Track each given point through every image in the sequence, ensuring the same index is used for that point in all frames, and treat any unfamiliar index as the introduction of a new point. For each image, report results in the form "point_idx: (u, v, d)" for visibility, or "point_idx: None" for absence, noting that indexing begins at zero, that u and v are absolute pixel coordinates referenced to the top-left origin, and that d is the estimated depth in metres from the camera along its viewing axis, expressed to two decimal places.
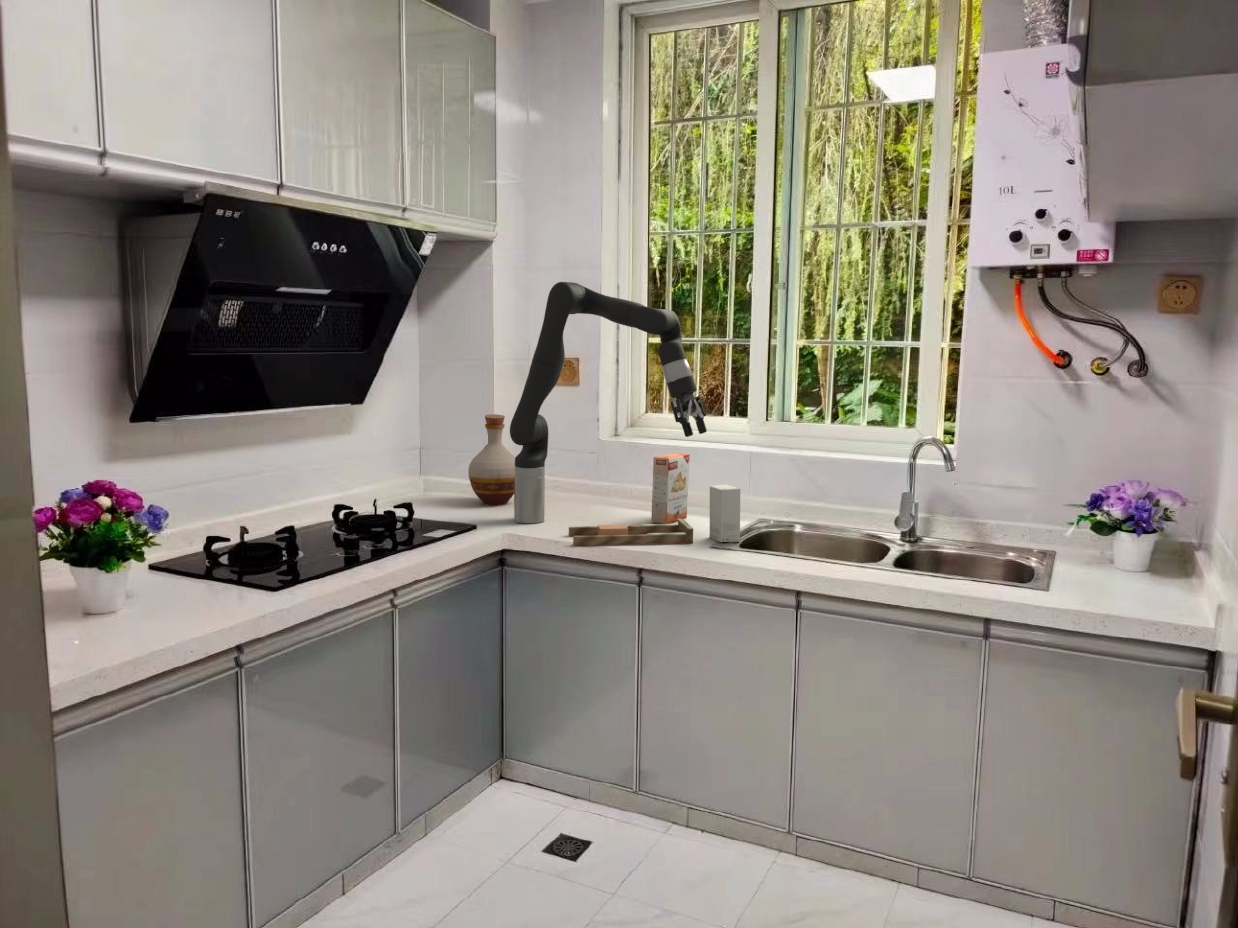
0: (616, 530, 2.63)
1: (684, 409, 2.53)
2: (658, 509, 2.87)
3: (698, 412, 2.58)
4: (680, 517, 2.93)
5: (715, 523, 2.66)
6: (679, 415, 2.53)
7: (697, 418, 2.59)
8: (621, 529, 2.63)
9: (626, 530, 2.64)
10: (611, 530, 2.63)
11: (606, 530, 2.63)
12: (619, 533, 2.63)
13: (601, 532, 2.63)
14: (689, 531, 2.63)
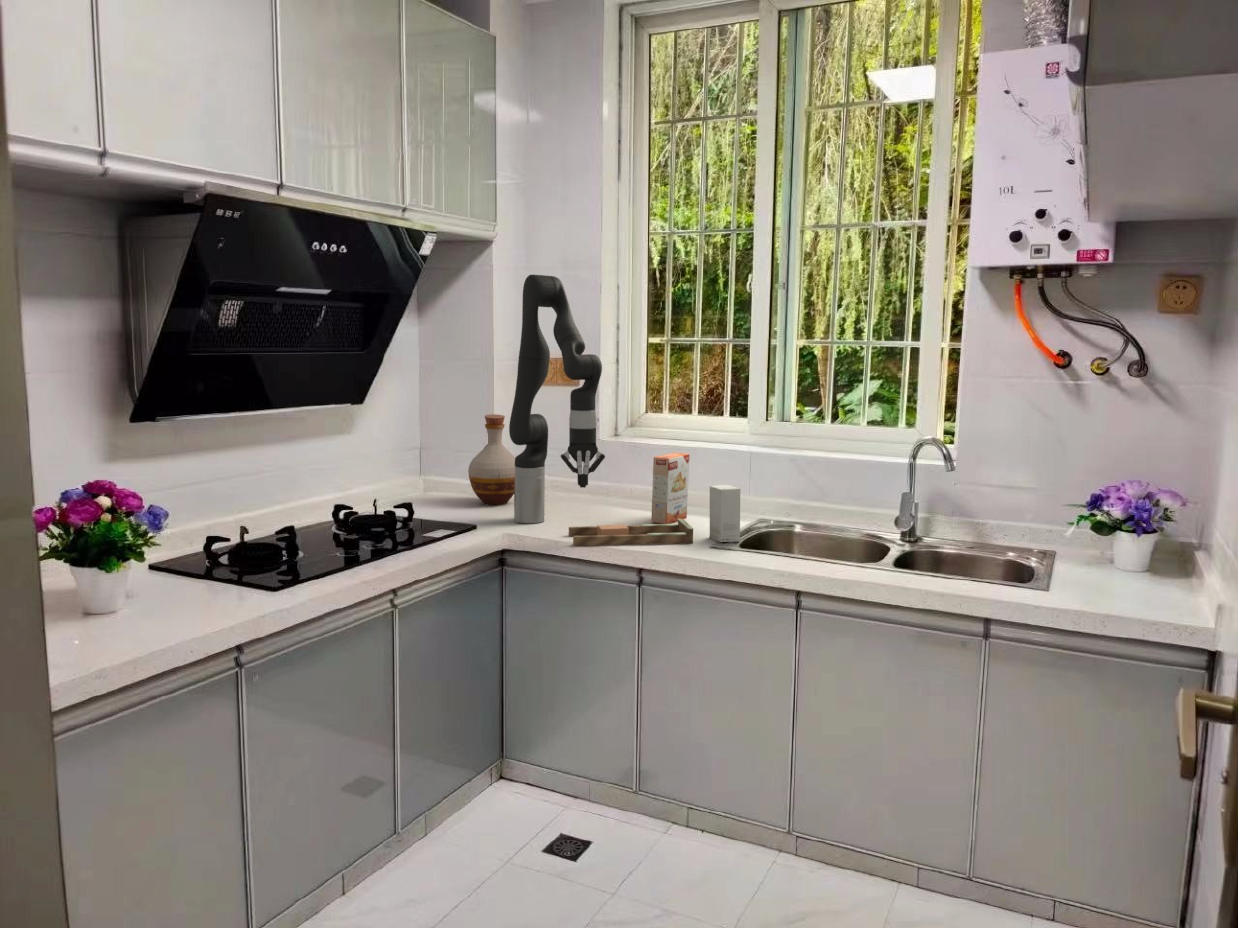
0: (616, 530, 2.63)
1: None
2: (658, 509, 2.87)
3: (584, 464, 2.60)
4: (680, 517, 2.93)
5: (715, 523, 2.66)
6: None
7: (583, 470, 2.62)
8: (622, 529, 2.64)
9: (626, 529, 2.64)
10: (612, 530, 2.63)
11: (607, 530, 2.63)
12: (620, 533, 2.64)
13: (602, 532, 2.62)
14: (689, 531, 2.63)
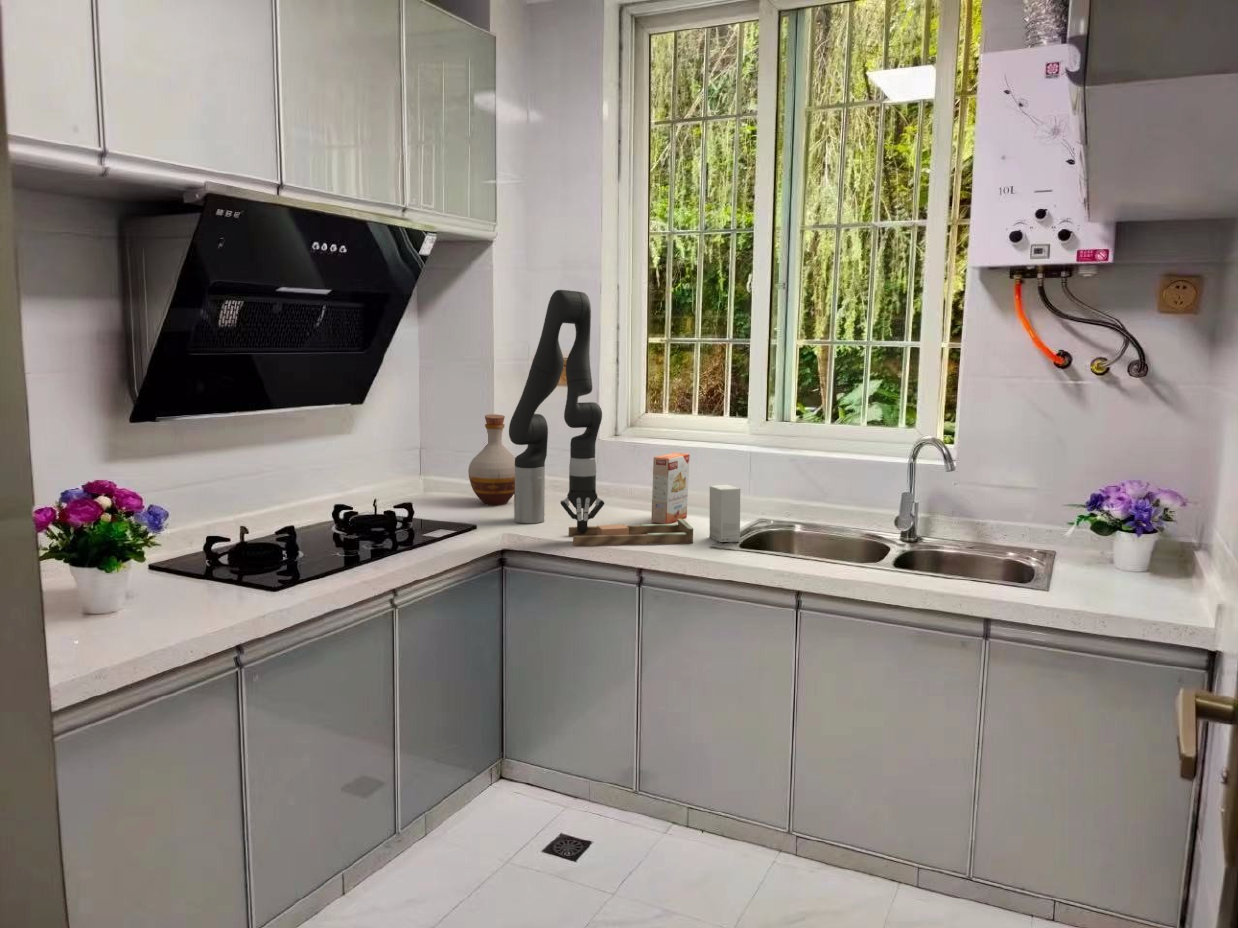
0: (617, 530, 2.63)
1: None
2: (658, 509, 2.87)
3: (584, 511, 2.62)
4: (680, 517, 2.93)
5: (715, 523, 2.66)
6: (576, 511, 2.64)
7: (583, 516, 2.64)
8: (622, 529, 2.64)
9: (626, 529, 2.64)
10: (612, 530, 2.63)
11: (607, 530, 2.62)
12: (620, 533, 2.64)
13: (602, 532, 2.62)
14: (689, 531, 2.63)
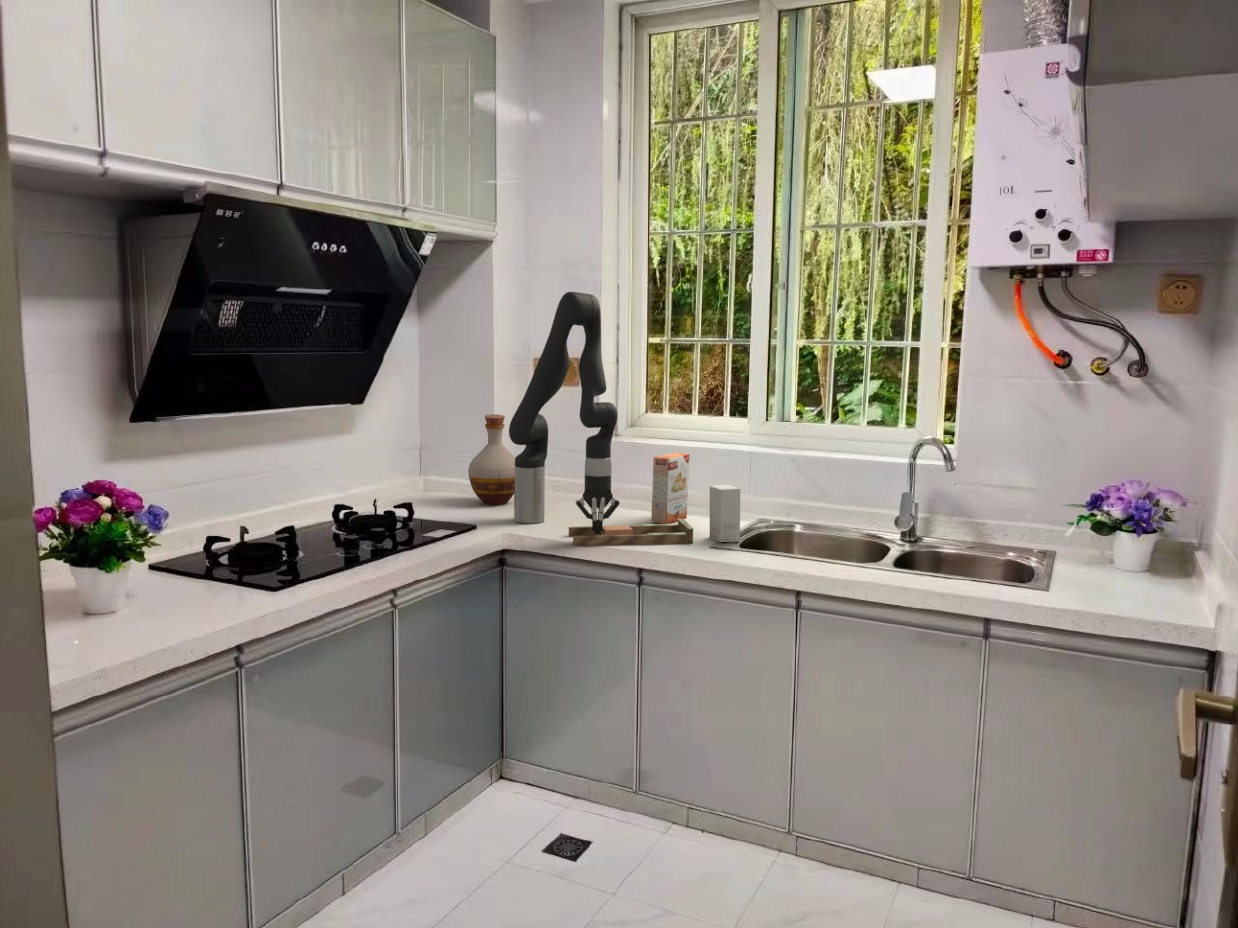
0: (621, 531, 2.63)
1: None
2: (658, 509, 2.87)
3: (599, 510, 2.63)
4: (680, 517, 2.93)
5: (715, 523, 2.66)
6: (591, 511, 2.65)
7: (598, 516, 2.64)
8: (626, 530, 2.64)
9: (630, 530, 2.64)
10: (616, 531, 2.63)
11: (611, 531, 2.62)
12: (624, 534, 2.64)
13: (606, 533, 2.62)
14: (689, 531, 2.63)
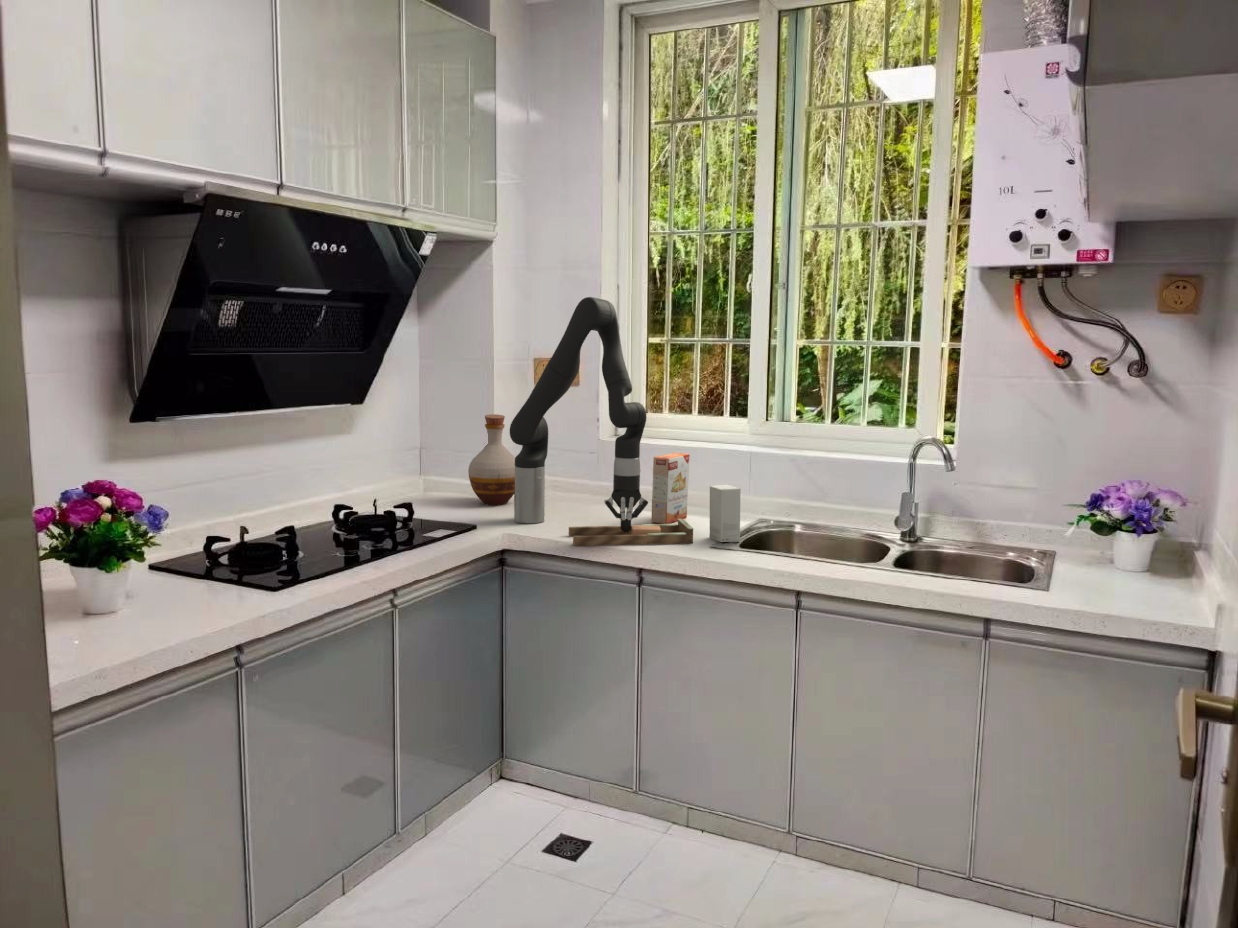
0: (648, 531, 2.63)
1: None
2: (658, 509, 2.87)
3: (628, 510, 2.64)
4: (680, 517, 2.93)
5: (715, 523, 2.66)
6: None
7: (627, 515, 2.66)
8: (653, 530, 2.63)
9: (658, 531, 2.63)
10: (643, 531, 2.63)
11: (638, 531, 2.63)
12: None
13: (633, 532, 2.63)
14: (689, 531, 2.63)
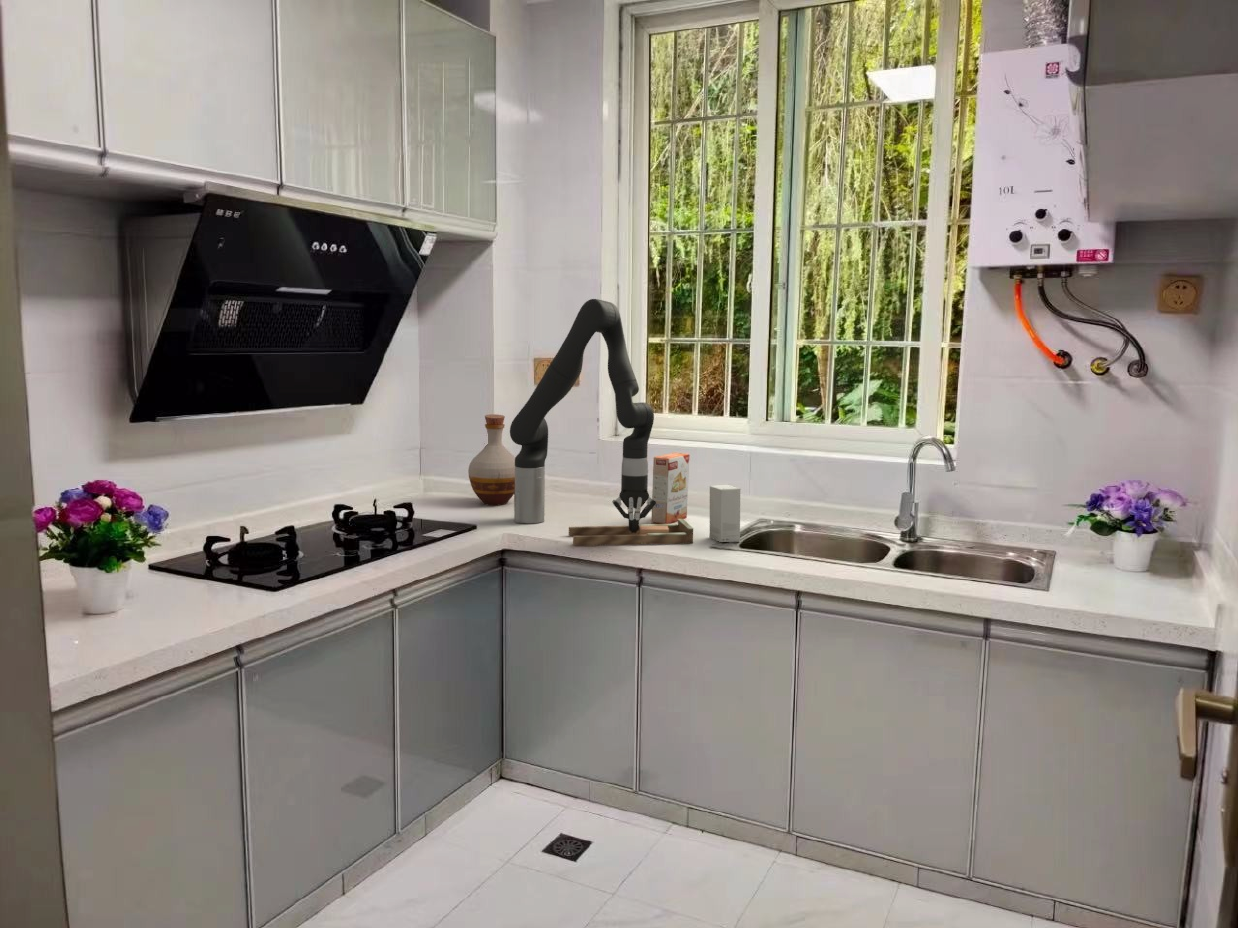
0: (656, 531, 2.63)
1: None
2: (658, 509, 2.87)
3: (636, 510, 2.65)
4: (680, 517, 2.93)
5: (715, 523, 2.66)
6: None
7: (635, 515, 2.66)
8: (661, 530, 2.63)
9: (666, 531, 2.63)
10: (651, 531, 2.63)
11: (646, 530, 2.63)
12: None
13: (641, 532, 2.63)
14: (689, 531, 2.63)
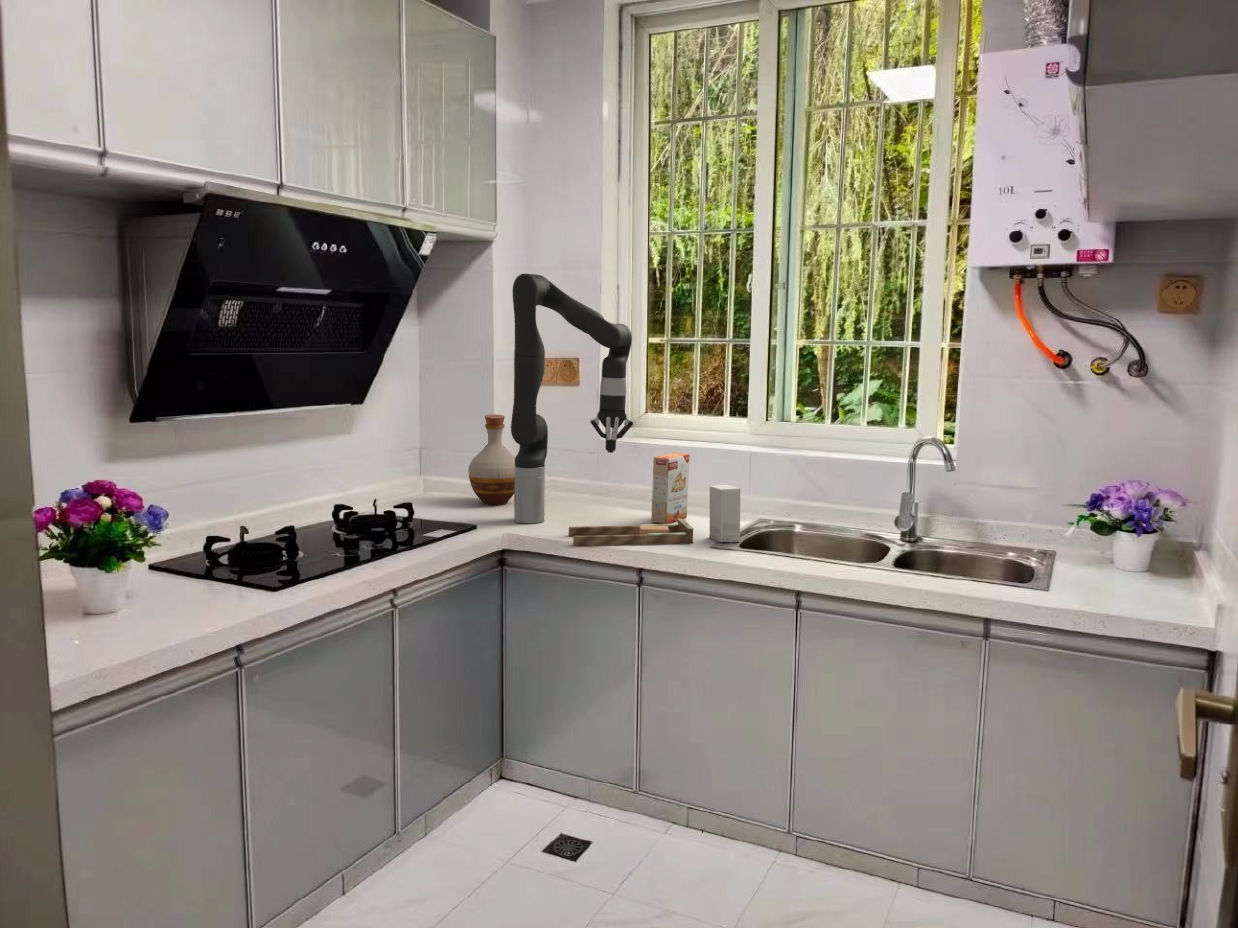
0: (656, 531, 2.63)
1: None
2: (658, 509, 2.87)
3: (613, 430, 2.69)
4: (680, 517, 2.93)
5: (715, 523, 2.66)
6: (605, 430, 2.71)
7: (612, 436, 2.71)
8: (661, 530, 2.63)
9: (666, 531, 2.63)
10: (651, 531, 2.63)
11: (646, 530, 2.63)
12: None
13: (641, 532, 2.63)
14: (689, 531, 2.63)
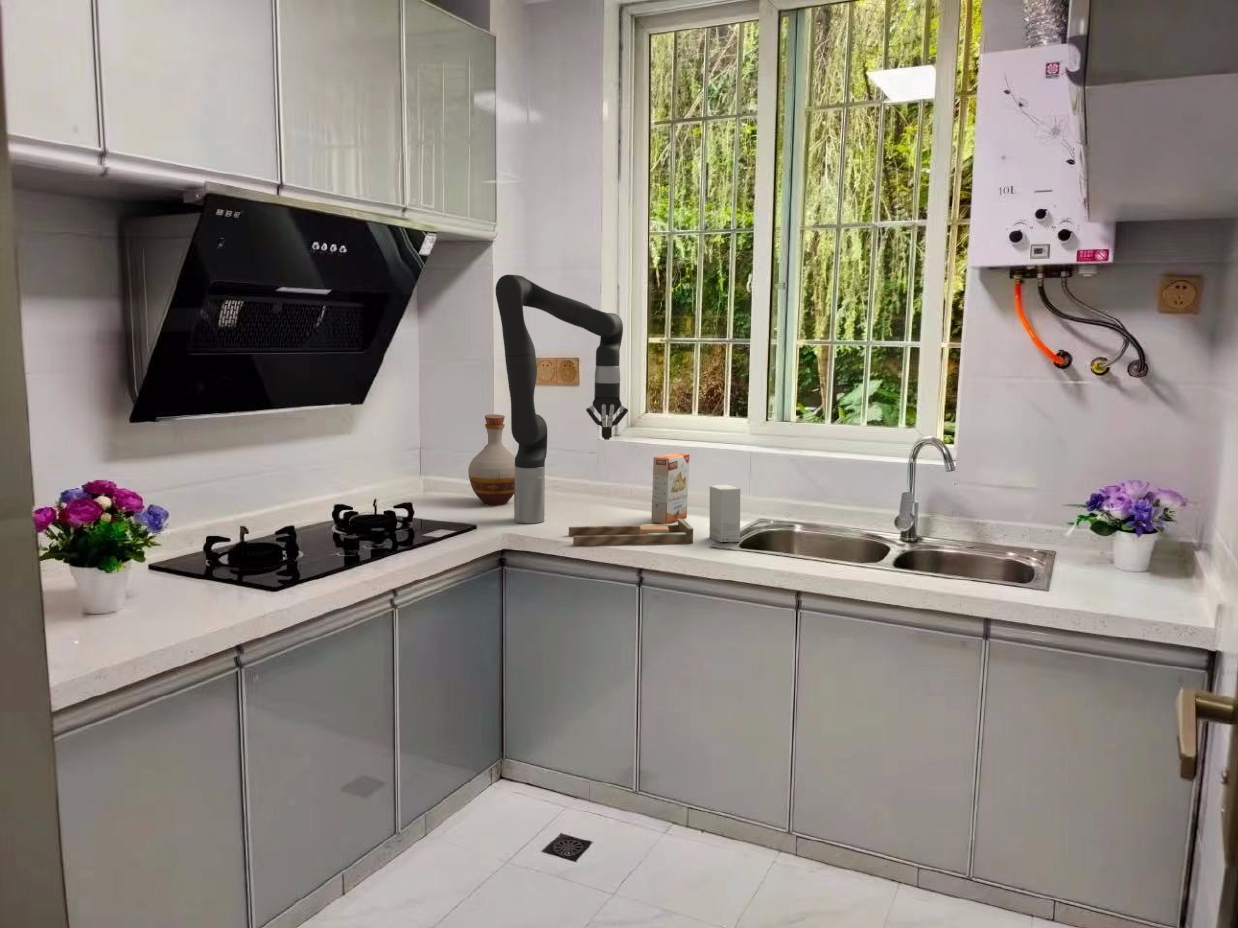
0: (656, 531, 2.63)
1: None
2: (658, 509, 2.87)
3: (608, 417, 2.74)
4: (680, 517, 2.93)
5: (715, 523, 2.66)
6: None
7: (607, 423, 2.76)
8: (661, 530, 2.63)
9: (666, 531, 2.63)
10: (651, 531, 2.63)
11: (646, 530, 2.63)
12: None
13: (641, 532, 2.63)
14: (689, 531, 2.63)
